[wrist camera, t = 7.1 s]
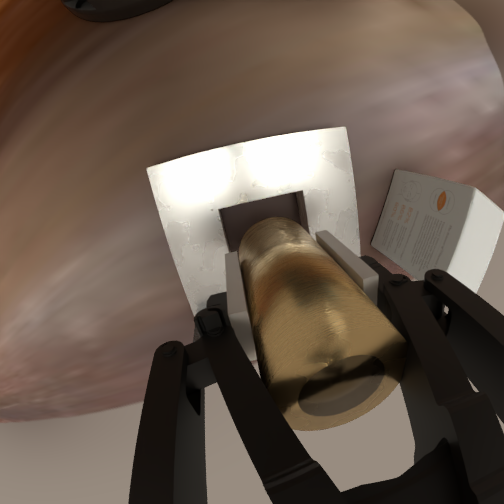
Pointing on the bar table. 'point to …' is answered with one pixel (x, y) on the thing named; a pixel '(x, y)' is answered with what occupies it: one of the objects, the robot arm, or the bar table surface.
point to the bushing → (315, 329)
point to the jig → (251, 198)
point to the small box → (438, 227)
